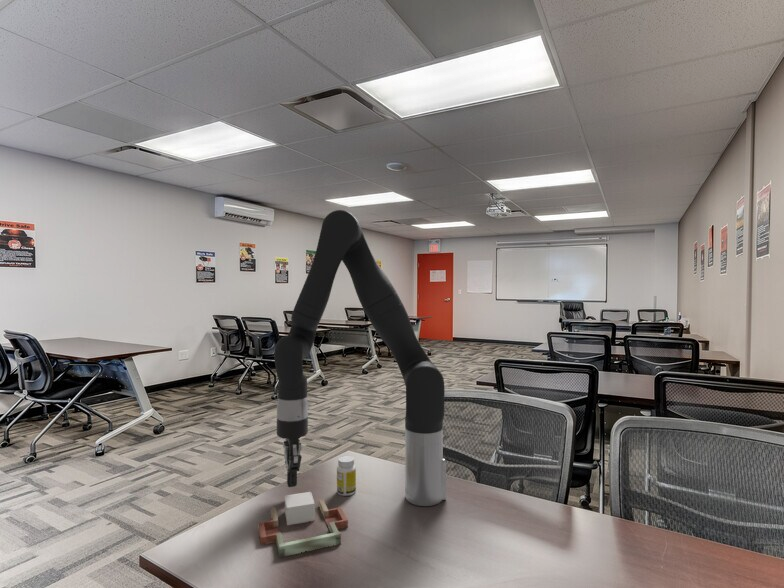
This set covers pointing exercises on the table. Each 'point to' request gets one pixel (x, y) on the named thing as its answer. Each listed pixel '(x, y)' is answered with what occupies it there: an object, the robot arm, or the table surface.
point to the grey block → (299, 508)
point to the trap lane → (334, 521)
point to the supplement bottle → (346, 476)
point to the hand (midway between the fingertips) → (291, 485)
